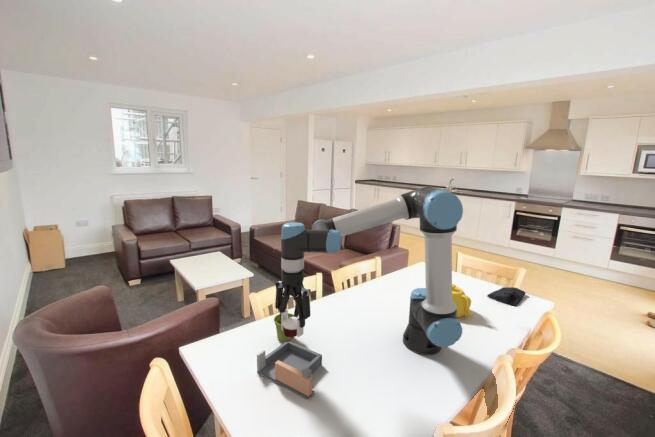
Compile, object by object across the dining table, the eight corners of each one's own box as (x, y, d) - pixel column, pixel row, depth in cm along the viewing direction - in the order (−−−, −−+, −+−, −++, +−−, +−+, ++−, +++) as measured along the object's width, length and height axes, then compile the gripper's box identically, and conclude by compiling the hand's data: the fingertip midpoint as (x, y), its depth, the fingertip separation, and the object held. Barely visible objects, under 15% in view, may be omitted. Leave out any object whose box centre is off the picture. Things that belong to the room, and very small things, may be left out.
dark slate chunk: (530, 297, 175) (531, 289, 174) (514, 308, 161) (516, 299, 160) (501, 288, 187) (502, 280, 186) (484, 297, 173) (485, 289, 172)
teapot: (415, 303, 163) (418, 279, 160) (437, 296, 172) (440, 272, 170) (458, 325, 142) (462, 297, 140) (480, 315, 152) (484, 289, 149)
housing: (335, 371, 110) (336, 353, 109) (308, 400, 96) (308, 380, 95) (287, 349, 122) (287, 333, 120) (257, 372, 108) (256, 354, 107)
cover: (312, 393, 98) (312, 370, 96) (308, 397, 96) (308, 374, 95) (278, 375, 105) (278, 354, 104) (274, 379, 104) (274, 357, 102)
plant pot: (300, 334, 132) (300, 315, 131) (290, 346, 123) (290, 326, 122) (280, 329, 135) (280, 311, 133) (269, 341, 126) (269, 322, 125)
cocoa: (287, 343, 104) (286, 311, 101) (276, 335, 108) (275, 304, 105) (309, 332, 110) (309, 301, 107) (298, 324, 115) (298, 295, 112)
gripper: (322, 271, 102) (321, 335, 107) (278, 260, 113) (278, 318, 117) (309, 279, 96) (308, 346, 101) (263, 265, 106) (264, 327, 111)
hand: (292, 331), depth 109 cm, fingers closed on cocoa, 6 cm apart
